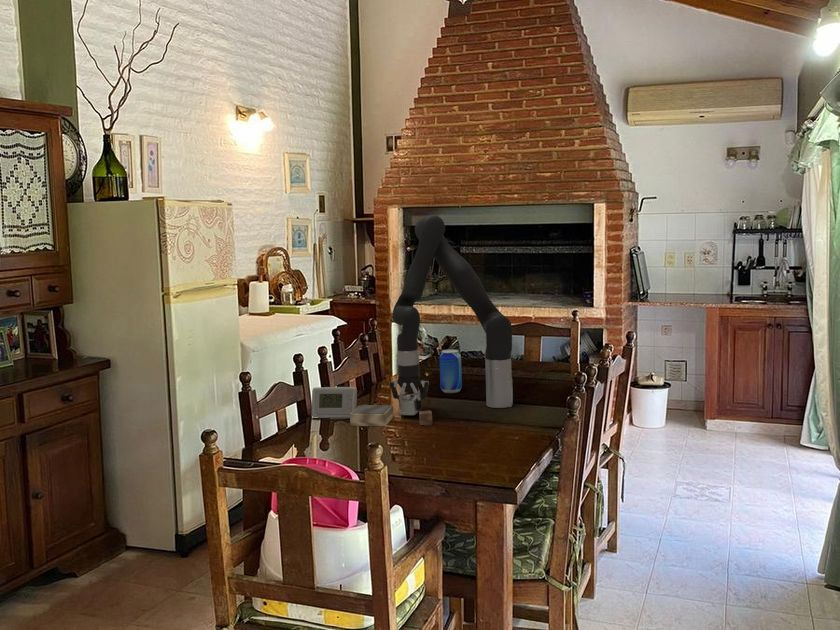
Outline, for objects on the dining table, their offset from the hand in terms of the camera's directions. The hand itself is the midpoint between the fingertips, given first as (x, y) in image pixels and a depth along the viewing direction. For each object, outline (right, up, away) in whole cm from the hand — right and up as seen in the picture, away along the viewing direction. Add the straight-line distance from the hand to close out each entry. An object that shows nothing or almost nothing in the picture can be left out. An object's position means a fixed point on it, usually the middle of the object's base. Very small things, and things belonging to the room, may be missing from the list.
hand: (410, 410), depth 272 cm
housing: (0, -1, 0) cm, 1 cm away
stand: (-13, -3, -7) cm, 15 cm away
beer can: (+16, +3, +34) cm, 37 cm away
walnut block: (+5, -3, -13) cm, 14 cm away
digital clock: (-27, -3, 0) cm, 27 cm away
